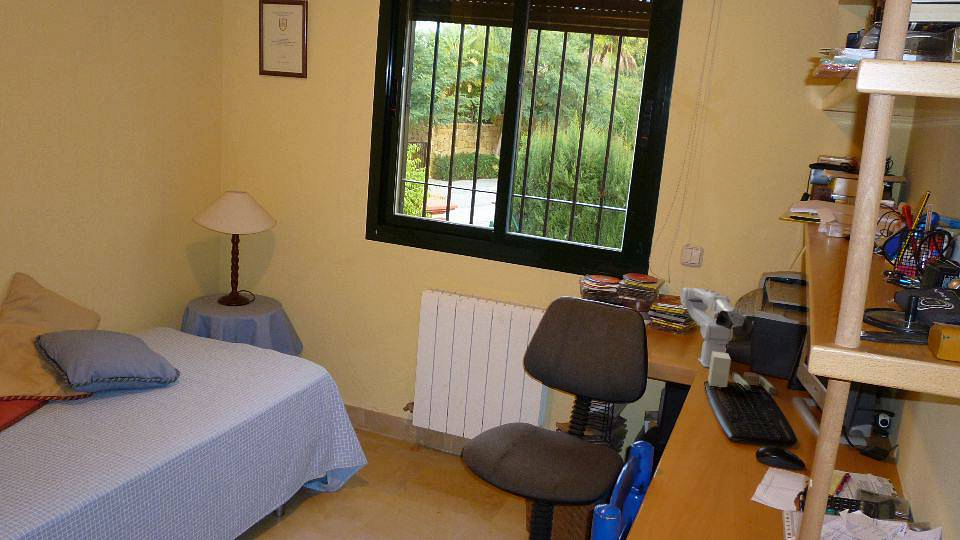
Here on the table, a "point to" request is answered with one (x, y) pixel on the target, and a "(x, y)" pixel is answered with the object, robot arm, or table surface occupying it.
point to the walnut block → (751, 378)
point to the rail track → (762, 382)
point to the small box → (719, 369)
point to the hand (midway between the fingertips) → (741, 328)
